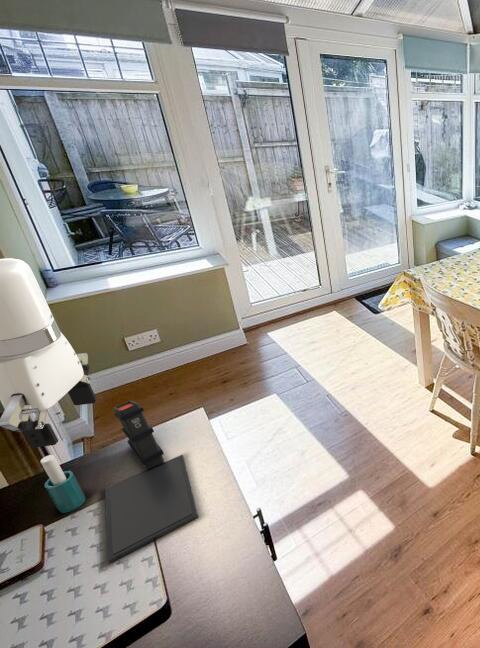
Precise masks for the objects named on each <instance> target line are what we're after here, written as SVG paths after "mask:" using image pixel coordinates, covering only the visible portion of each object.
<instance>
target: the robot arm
mask: <svg viewBox="0 0 480 648" xmlns="http://www.w3.org/2000/svg"><path fill="white" fill-rule="evenodd" d="M52 313H53V312H52V311H51V309H50V307H49V304H48V302H47V300H46V298H45V296H44V294H43V291H42V289H41V287H40V285H39V282H38V281H37V278H36V276H35V274H34V272H33V270H32V268H31V265H29V264H28V263H27V262H25V261H23V260H22V259H18V258H17V259H16V258H0V403H1V405H2V407H3V409H4V411H3V413H2V414H1V416H0V427H1V428H4V429H6V430H8V431H10V432H18V433H19V432H21V433H23V434H24V436H25V438H26V440H27V442H28V443H29V445H30V447H31V448H33V449H35V448H43V447H50V446H56V445H57V444H58V442H59V439H58V436H57V435H56V432H55V431H54V429H53V428H52V427H53V426H52V425H51V424H50V423H46V418H47V412H48V410H49V409H51V408H52V407H54V406H55V405H56V404H57V403H58V402H59V401H60V400H61V399H62V398H63V397H65V395H66V394H68V396H69V398H70V400H71V402H72V404H73V406H83V405H84V406H85V405H91V404H95V403H96V402H97V401H98V399H97V396H96V393H95V392H94V389H93V388H92V385H91V384H90V382H91V381H92V380H91V379H92V378H91V376H89V374H90V373H89V372H90V365H89V354H88V353H87V352H83V353H76V351H75V349H74V348H73V346H72V345H71V343H70V342H69V341H68V339H67V338H66V336H65V335H64V334H63V333H62V332H61V330H60V328H59V326H58V325H57V322H56V319H55V318H54V315H53V314H52ZM30 406H31V407H33V408H30ZM30 414H35V418H34V421H33V420H29V418H30Z"/></svg>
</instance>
